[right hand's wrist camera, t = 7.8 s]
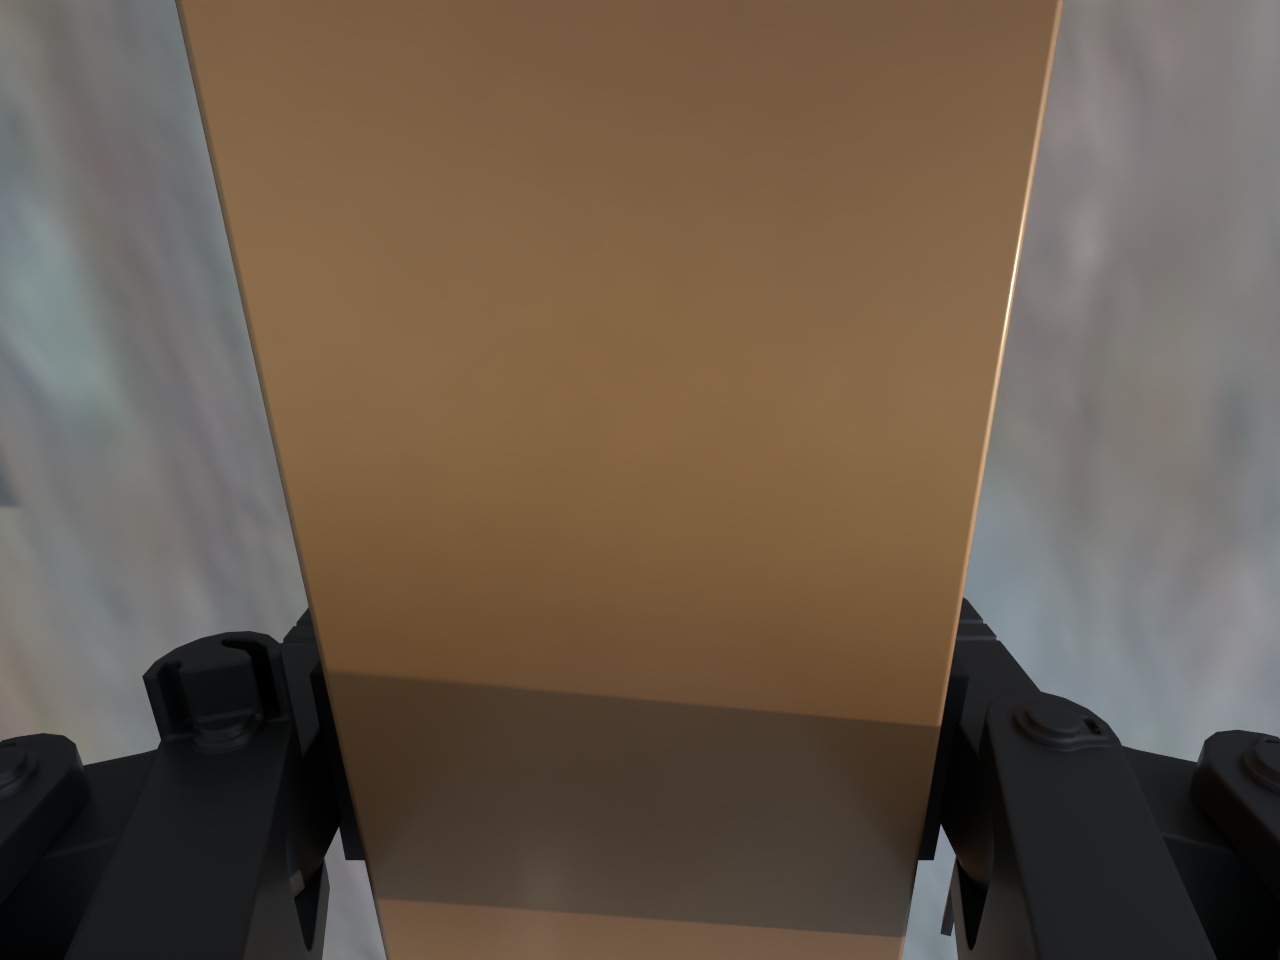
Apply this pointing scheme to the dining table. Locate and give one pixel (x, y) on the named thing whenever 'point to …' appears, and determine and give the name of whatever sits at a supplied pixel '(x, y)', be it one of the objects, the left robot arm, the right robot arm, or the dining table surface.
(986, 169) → the post
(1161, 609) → the dining table surface
